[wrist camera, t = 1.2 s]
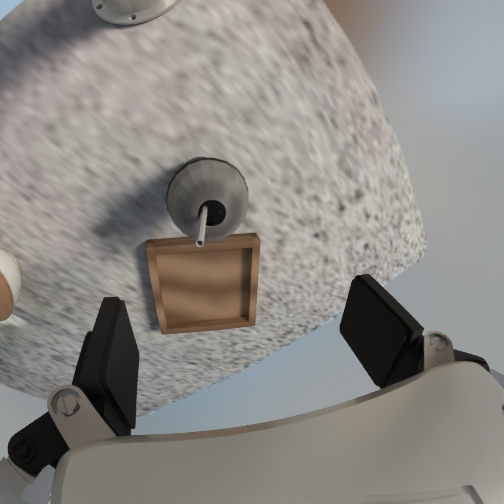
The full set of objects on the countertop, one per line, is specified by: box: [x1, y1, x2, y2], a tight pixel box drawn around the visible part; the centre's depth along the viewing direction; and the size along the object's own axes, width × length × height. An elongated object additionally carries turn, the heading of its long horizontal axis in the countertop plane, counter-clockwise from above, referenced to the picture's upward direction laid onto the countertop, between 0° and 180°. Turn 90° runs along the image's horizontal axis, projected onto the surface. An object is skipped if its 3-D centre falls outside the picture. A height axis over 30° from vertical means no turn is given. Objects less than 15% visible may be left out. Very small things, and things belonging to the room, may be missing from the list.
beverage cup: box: [166, 157, 248, 247], centre depth 25 cm, size 7×7×20 cm
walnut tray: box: [146, 233, 260, 334], centre depth 40 cm, size 15×15×2 cm
